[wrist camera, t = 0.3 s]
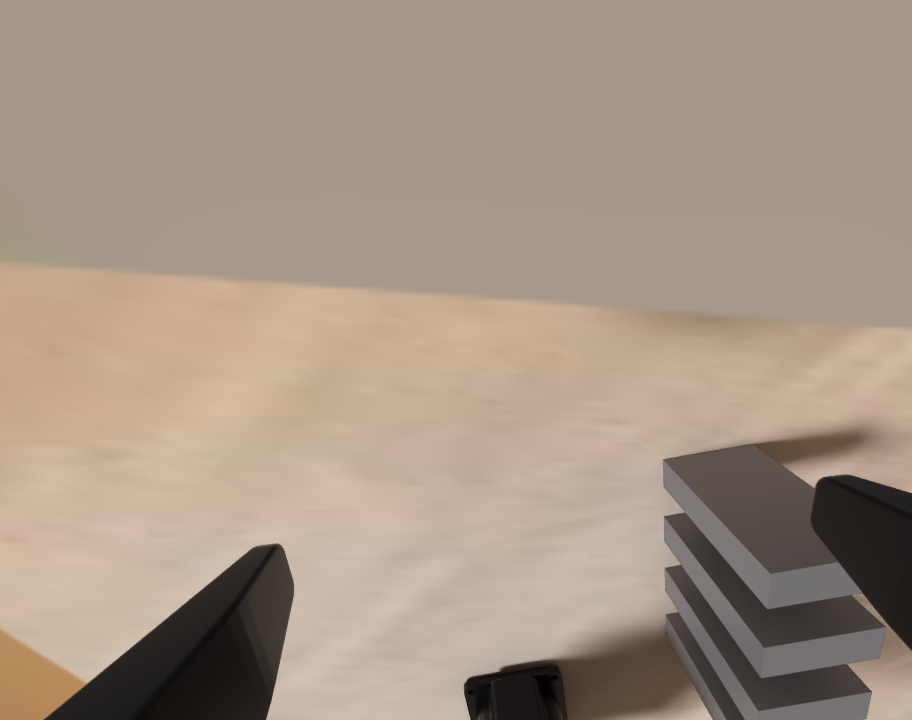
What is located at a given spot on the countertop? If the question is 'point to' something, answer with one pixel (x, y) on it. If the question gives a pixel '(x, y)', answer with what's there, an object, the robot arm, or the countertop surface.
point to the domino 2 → (700, 670)
